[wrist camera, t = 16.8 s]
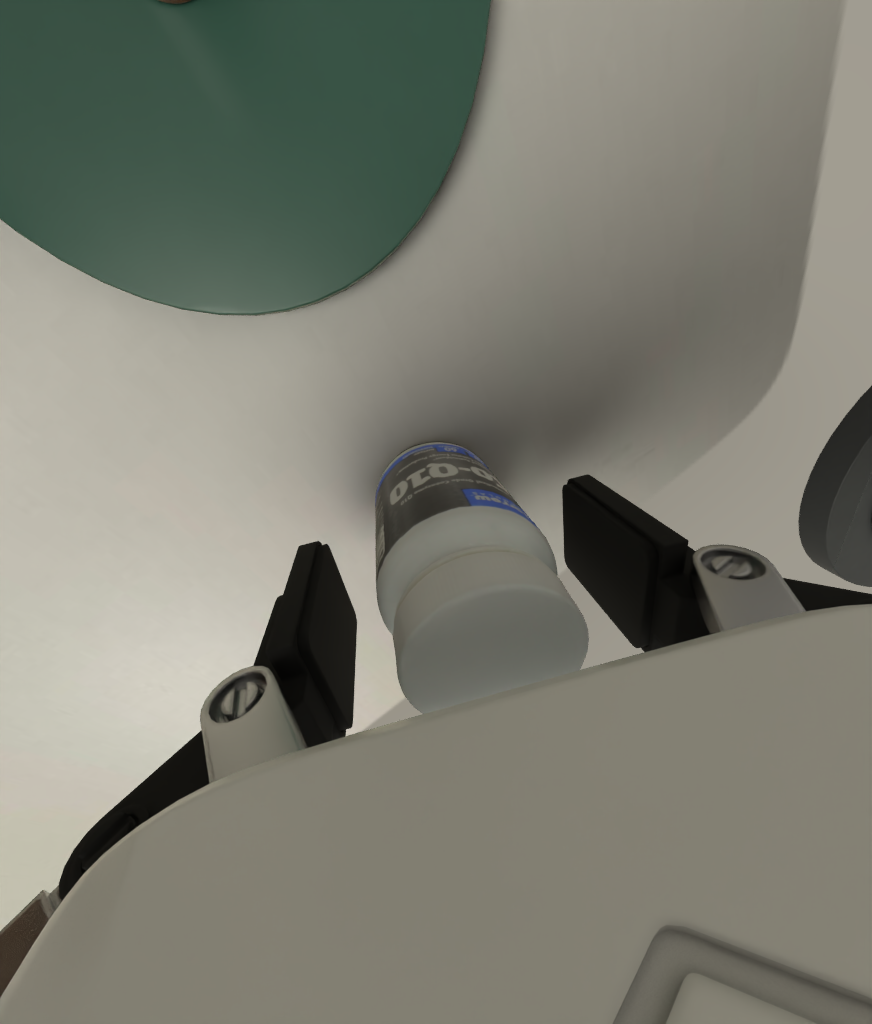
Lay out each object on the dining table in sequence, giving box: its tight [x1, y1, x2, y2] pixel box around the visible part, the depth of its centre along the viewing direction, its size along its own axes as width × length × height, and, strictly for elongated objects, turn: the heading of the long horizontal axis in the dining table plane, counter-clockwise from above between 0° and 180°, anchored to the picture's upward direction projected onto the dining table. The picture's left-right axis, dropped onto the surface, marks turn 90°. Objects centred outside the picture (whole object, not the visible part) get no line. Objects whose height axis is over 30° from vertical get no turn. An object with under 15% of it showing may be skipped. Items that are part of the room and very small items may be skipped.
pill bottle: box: [375, 442, 589, 714], centre depth 11 cm, size 5×5×8 cm
